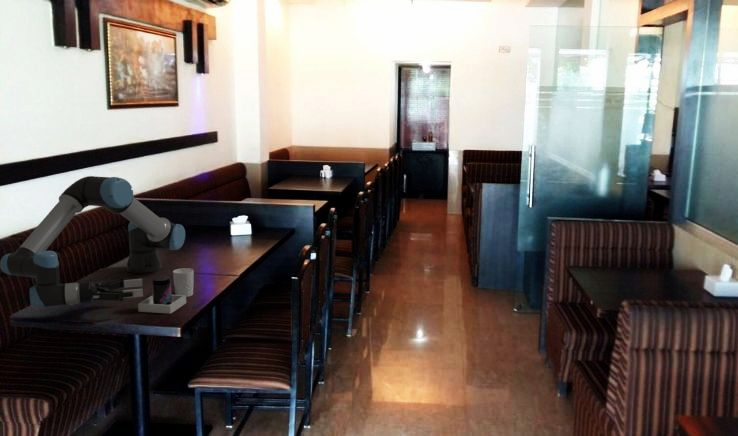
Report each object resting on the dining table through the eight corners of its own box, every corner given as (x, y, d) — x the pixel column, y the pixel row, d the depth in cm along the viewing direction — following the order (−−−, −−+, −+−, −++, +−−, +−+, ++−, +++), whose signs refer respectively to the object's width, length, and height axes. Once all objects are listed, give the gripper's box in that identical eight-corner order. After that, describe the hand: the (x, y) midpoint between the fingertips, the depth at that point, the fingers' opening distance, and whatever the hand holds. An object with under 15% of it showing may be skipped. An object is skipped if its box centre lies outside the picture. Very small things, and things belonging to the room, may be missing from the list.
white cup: (187, 290, 253) (185, 267, 252) (198, 294, 249) (197, 270, 247) (170, 295, 247) (168, 271, 246) (181, 299, 243) (180, 274, 241)
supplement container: (156, 309, 228) (154, 281, 226) (150, 304, 233) (149, 277, 231) (174, 305, 232) (173, 278, 230) (168, 301, 237) (167, 274, 235)
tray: (138, 311, 228) (138, 303, 227) (155, 301, 240) (155, 293, 239) (170, 313, 226) (170, 305, 225) (186, 302, 238) (185, 295, 237)
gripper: (83, 293, 234) (142, 287, 241) (77, 314, 211) (143, 307, 218) (81, 274, 233) (141, 269, 240) (75, 292, 210) (142, 286, 217)
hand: (142, 287), depth 229 cm, fingers open, 13 cm apart
